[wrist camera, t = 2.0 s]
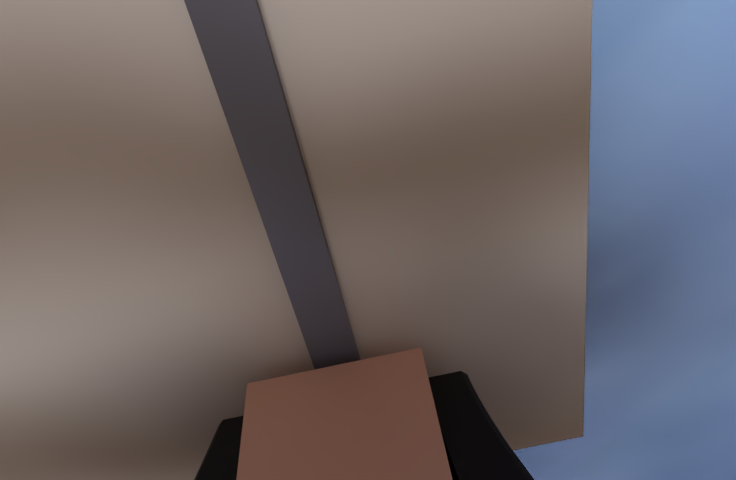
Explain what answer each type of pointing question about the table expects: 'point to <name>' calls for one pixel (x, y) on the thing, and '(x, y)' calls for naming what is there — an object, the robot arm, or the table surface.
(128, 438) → the console
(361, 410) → the fader
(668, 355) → the table surface
